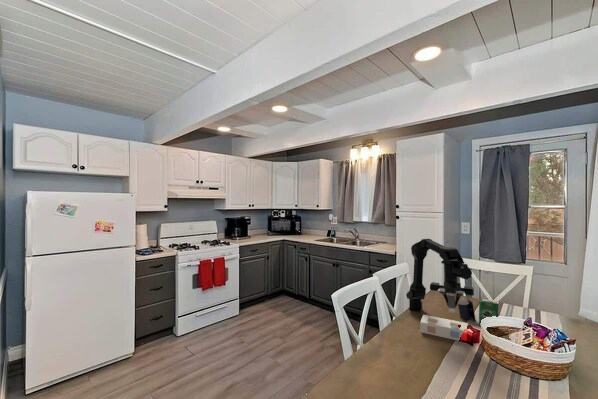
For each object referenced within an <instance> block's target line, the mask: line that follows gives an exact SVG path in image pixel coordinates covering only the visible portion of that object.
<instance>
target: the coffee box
mask: <svg viewBox="0 0 598 399" xmlns="http://www.w3.org/2000/svg"><path fill="white" fill-rule="evenodd" d="M478 301H479V304H478V325H480V323H481V320H482V319H484V318H486V317H492V316H496V317H498V318H499V303H498V302H497V301H490V300H482V299H479V300H478Z"/></svg>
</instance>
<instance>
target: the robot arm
mask: <svg viewBox="0 0 598 399" xmlns="http://www.w3.org/2000/svg"><path fill="white" fill-rule="evenodd" d="M410 250H411V251H410V252H411V256H412V257H413V275H412V276H413V277H412V280H413V281H412V283H411V284H410V285H409V290H408V291H407V292H406V298H407V299H408V300H409V301H408V302H409V304H408V305H409V306H408V310H410V311H415V312H421V311H422V310H423V301H422V300H425V297H426V295H427V293H426V290H427V288H426V287H425V285H424V284H423V278H424V277H423V276H424V275H423V274H424V261H425V258H426V257H427V255H428V252H429V251H433V252H435V253H437V254H438V255H439V257H440V258H441V259H442V261H441V262H440V263H441V264H443V269H444V270H443V271H444V273H443V277H444V281H443V285H442V284H440V282H434V281H433V282H431V283H430V284H429V290H430V291H433V292H437V291H439V294H441V295H442V296H443V298H444V300H445V302H446V305H447V306H448V294H455V308H457V306H458V302H459V300H460V299H461V297H463V296H464V295H466V296H472V297H473V296H475V292H474V291H475V290H474V287H473V286H469V285H463V286H464V287H462V286H461V285H462V283H459V281H458V280H459V278H461V279H463V280H469V279H470V278H471V277H472V275H473V271H472V269H471V268H470V267H469V265H468V263H465V261H464V258H463V257H462V255H461V254H460V251H459V250H458V249H457V248H456V247H455V248H454V247H449V246H444V245H443V244H440V243H438V242H436V241H434V240H432V239H431V238H422V239H421V240H420V241H418V242H416V243H414V244H412V245H411V248H410Z"/></svg>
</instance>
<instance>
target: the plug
mask: <svg viewBox="0 0 598 399" xmlns="http://www.w3.org/2000/svg"><path fill="white" fill-rule="evenodd" d="M447 294H448V305H447V307H448V312H449V313H456V307H455V302H456V294H453V293H447Z"/></svg>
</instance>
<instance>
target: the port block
mask: <svg viewBox="0 0 598 399" xmlns="http://www.w3.org/2000/svg"><path fill="white" fill-rule="evenodd" d="M458 325H461V327H460V328H459V327H458ZM468 325H469V324H468V322H462V321H458V320H453V319H447V318H443V317H439V316H438V317H436V316H431V315H427V314H422V317H421V320H420V323H419V326H420V327H419V328H420V333H422V334H427V335H432V336H435V337H441V338H446V339H450V340H454V341H459V340H460V337H461V335H462V334H463V333H464V332H467V331H464V329H467V326H468ZM468 327H469V326H468ZM459 342H460V341H459Z"/></svg>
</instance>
